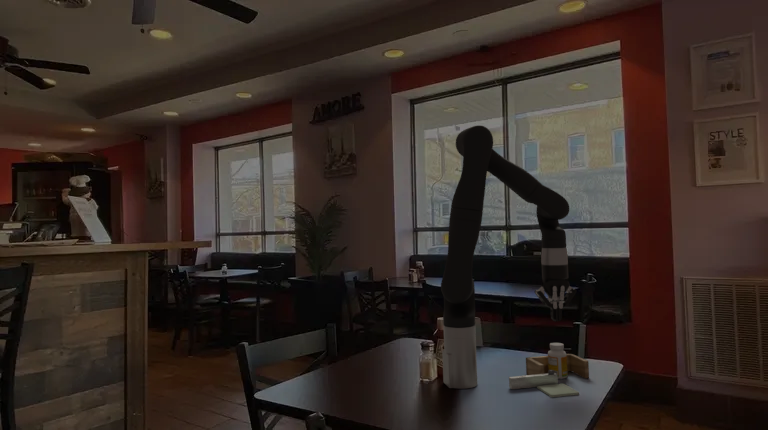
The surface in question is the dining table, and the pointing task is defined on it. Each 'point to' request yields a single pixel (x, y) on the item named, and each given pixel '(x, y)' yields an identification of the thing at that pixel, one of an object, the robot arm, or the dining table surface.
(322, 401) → the dining table surface
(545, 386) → the coaster
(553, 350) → the supplement bottle
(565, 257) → the robot arm
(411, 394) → the dining table surface
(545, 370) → the bracket
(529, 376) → the bar
